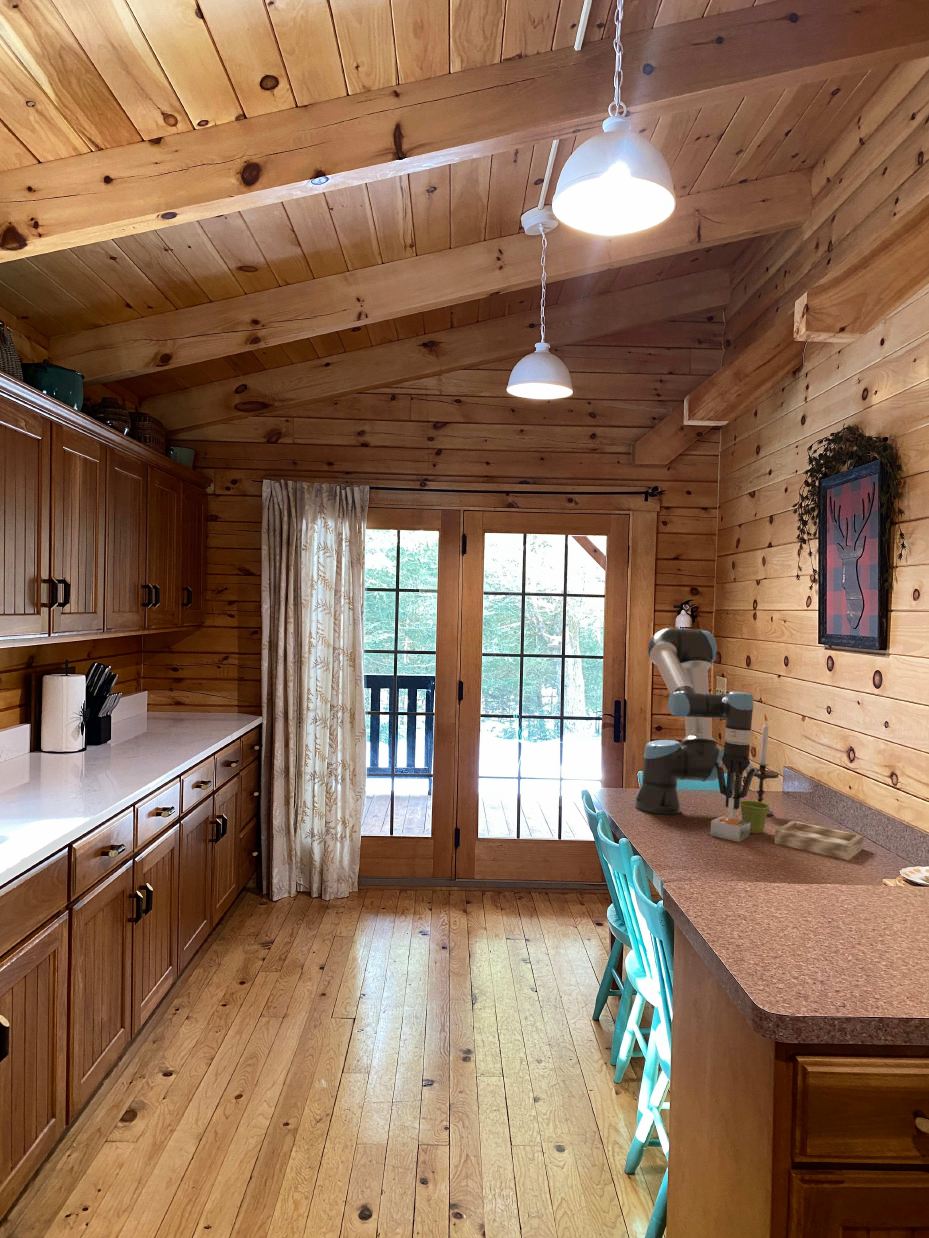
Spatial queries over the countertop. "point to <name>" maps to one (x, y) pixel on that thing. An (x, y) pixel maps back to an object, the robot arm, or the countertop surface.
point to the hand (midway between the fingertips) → (731, 818)
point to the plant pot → (755, 814)
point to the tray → (819, 840)
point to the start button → (731, 821)
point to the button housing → (730, 829)
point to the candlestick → (764, 766)
